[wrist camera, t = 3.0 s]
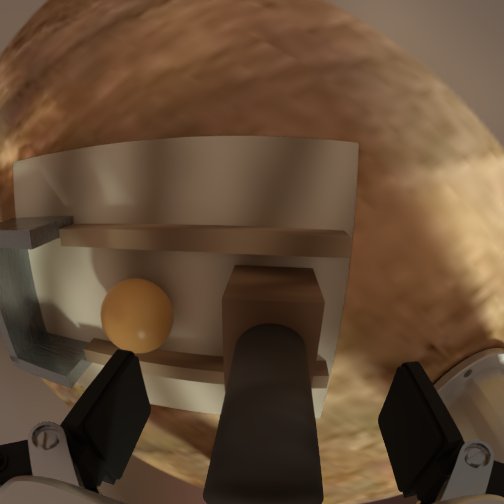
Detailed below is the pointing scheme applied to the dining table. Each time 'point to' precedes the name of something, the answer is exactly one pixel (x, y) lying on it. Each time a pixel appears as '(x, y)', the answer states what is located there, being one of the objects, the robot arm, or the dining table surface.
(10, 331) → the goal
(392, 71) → the dining table surface
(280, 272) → the player block
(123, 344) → the ball
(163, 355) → the lane board
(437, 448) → the robot arm
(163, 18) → the dining table surface
